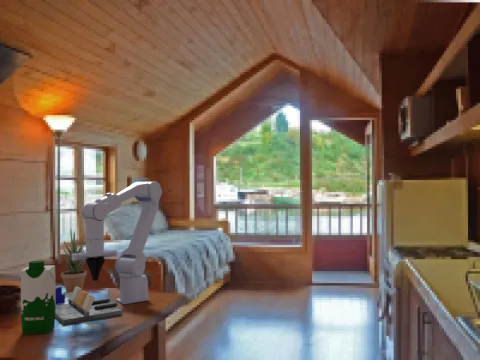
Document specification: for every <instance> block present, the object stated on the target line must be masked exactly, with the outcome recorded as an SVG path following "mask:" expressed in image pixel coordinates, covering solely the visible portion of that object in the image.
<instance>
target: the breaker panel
mask: <svg viewBox="0 0 480 360" xmlns="http://www.w3.org/2000/svg"><path fill="white" fill-rule="evenodd" d="M98 300H105V298H96V299H94V301H98ZM107 304H112V303H111V302H105V303H98V304H92V306H91V308H90V310H89V311H87V310H85V309H83V308H82V307H83V306H79V305H78V304H76V302H75V301H72V300H71V299H70V298H68V303H64V304H63V303H62V304H58V305H56V309H55V319H56V320H58V321H59V322H60V323H61V324H62V325H63V326H66V325H72V324H76V323H83V322H88V321H89V320H90V321H95V320H101V319H105V318H111V317H118V316H122V315H123V310H122V309H121V308H119V307H118V306H114V307H108V308H102V309H94V307H95V306H100V305H107ZM94 319H95V320H94Z"/></svg>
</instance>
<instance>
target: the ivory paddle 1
mask: <svg viewBox="0 0 480 360" xmlns="http://www.w3.org/2000/svg"><path fill="white" fill-rule="evenodd" d="M81 290H83V289H81V288H79V287H76V286H75V289H74V291H73V292H71V293H72V294H71V296H70V298H69V299H71V300H72V301H74V302H76V301H77V299H78V297H79V295H80V292H81Z"/></svg>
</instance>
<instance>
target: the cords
mask: <svg viewBox="0 0 480 360" xmlns="http://www.w3.org/2000/svg"><path fill="white" fill-rule="evenodd" d="M105 302H109V303H111V298H107V299H106V298H104V300H98V301H93V303H92V304H98V303H105ZM114 306H116V307H118V303H117V302H113V303H111V304H107V305H100V306H95V307H94V309H102V308H108V307H114Z"/></svg>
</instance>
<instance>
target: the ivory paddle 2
mask: <svg viewBox="0 0 480 360" xmlns="http://www.w3.org/2000/svg"><path fill="white" fill-rule="evenodd" d="M95 298H96V297H95V296H94V295H92V294H89V293H88V295H87V297H86V299H85V302H84V304H83V307H82V308H83V309H85V310H87V311H89V310H90V308H91V306H92V303H93V301H94V300H96V299H95Z"/></svg>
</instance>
